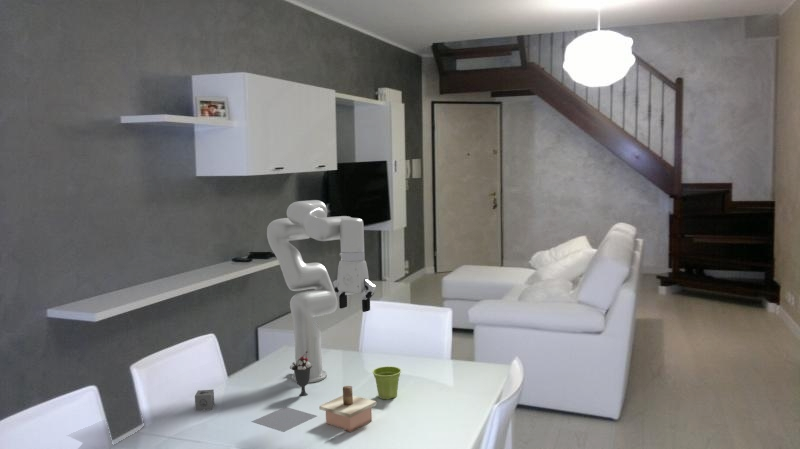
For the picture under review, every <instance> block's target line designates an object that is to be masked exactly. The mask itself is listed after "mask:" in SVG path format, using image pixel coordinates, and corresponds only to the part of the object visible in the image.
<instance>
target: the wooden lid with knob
mask: <svg viewBox="0 0 800 449" xmlns="http://www.w3.org/2000/svg"><path fill="white" fill-rule="evenodd" d="M375 406H377V401H376V400H374V399H370V398H369V399H368V398H364V397H361V396H356V395H353V386H352V385H344V386H342V395H341V396H339V397H337V398H334V399H332V400H329V401H327V402H325V403H324V404H321V405H319V407H318V408H319V410H321V411H324V412H326V411H327V412H331V413H334V414H338V415H342V416H345V417H349V418H351V417H353V416H355V415H357V414H359V413H361V412H363V411H365V410H367V409H369V408H371V409H372V407H375Z"/></svg>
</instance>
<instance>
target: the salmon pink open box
mask: <svg viewBox="0 0 800 449" xmlns="http://www.w3.org/2000/svg"><path fill="white" fill-rule="evenodd" d="M372 418H373V417H372V407H371V408H369V409H367V410H365V411H363V412H361V413H359V414H357V415H355V416H353V417H351V418H349V417H345V416H342V415H338V414H334V413H331V412H327V411H325V423H326V424H327V425H331V426H333V427H337V428H341V429H344V430H343V431H344V432H348V433H352V432H355V431H356V430H359V429H360V428H361V427H363V426H365V425H367V424H370V423H371V422H373V419H372Z"/></svg>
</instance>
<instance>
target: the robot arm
mask: <svg viewBox="0 0 800 449" xmlns="http://www.w3.org/2000/svg"><path fill="white" fill-rule="evenodd" d="M286 216H287V217H283V218H277V219H274V220H272V221H271V222H269V224H268V225H267V229H266V237H267V242H268V245H269V247H270V249H271V250H272V252H273V254H274V255H275V257H276V259H277V261H278V264H279V266H280V270H281V271H282V276H283V278H284V282H285V284H286V286H287V288H288V289H289V290H290V291H292V292H293V291H294V292H297V293H296V294H294V295H293V296H292V297H291V298H290V301H289V308H290V309H289V310H290V312H291V313H290V314H291V317H292V322H293V323H292V324H293V335H294V336H293V338H294V355H295V361H294V364H295V365H296V362H297V360H298V359H300V358H301V357H304V359H305V358H306V357H307V359H308V362H309V363H310V365H311V366H312V367H311V369H310V377H309V383H316V382H317V383H318V382H320V381H323V380H325V379H326V378H327V376H328V373H327V371H326V370H324V369H323V356H322V355H323V354H322V332H321V327H320V325H319V323H317V321H316V320H315V317H321V316H327V315H329V314H332V313H335V312H336V310H337V308H338V307H339V309H345V308H347V307H348V296H347V294H348V293H350V294H357V295H358V294H360V296H361V297H362V298H363V299H362V300H361V309H362V310H361V311H362V313H366V312H369V311H371V299H372V297H373V296H374V294H375V290H376V288H377V285H375V284H374V283H372V282H371V281H370V278H369V271H368V270H369V269H368V266H367V265H368V263H367V261H366V260H365V256H366V255H365V233H364V232H365V231H364V230H365V228H364V226H365V225H364V220H363V219H362V218H359V217H351V216H349V215H348V216H347V215H341V216H340V215H339V216H328V208H327V205H326V204H325V203H324V202H323V201H321V200H318V199H311V200H299V201H294V202H292V203H290V205H288V207H287V209H286ZM310 238H311V239H314V240H315V241H320V242H327V241H335V240H336V241H337V240H339V241H340V252H339V257H340V260H339V262H338V266H337V278H336V279H335V280H333V281H332V280H331V278H330V275H329V272H328V270H327V268H326V267H325V266H324V265H323V264H322V263H320V262H309V263H306V262H304V260H303V257H302V254H301V252H300V251H299V250H298V249H297V247H295V246H294V245H293V244H292V243H291V242H292V241H300V240H306V239H307V240H308V239H310ZM290 241H291V242H290ZM312 289H314V290H312ZM306 290H307V291H306ZM301 291H302V292H301ZM337 297H338V298H337ZM306 352H307V354H306ZM293 366H294V365H293V362H292V364H291V365H289V369H290V370H292V367H293ZM293 371H294V370H293ZM291 379H292V381H294V382H296V383H297V381H296V376H295V371H294V372H293V374H291ZM309 383H308V384H309Z"/></svg>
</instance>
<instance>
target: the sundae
mask: <svg viewBox="0 0 800 449" xmlns="http://www.w3.org/2000/svg"><path fill="white" fill-rule="evenodd" d="M306 354H307V352H306ZM294 362H296V361H294ZM294 362H292V363H293V365H294V366H293V367H292V369H291V370H292V371H295V376H296V381H297V382H296V381H295V382H296V383H297V385H298V386H300V388H301V391H300V393H299V394H298V395H299V397H306V396H308V393H307V392H306V386H307V385H308V384H309V377H310V369H311V367H312V366H311V365H310V363H309V362H308V359H307V357H306V358H305V359H304V357H301V358H300V359H298V360H297V362H296V365H295V364H294Z"/></svg>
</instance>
